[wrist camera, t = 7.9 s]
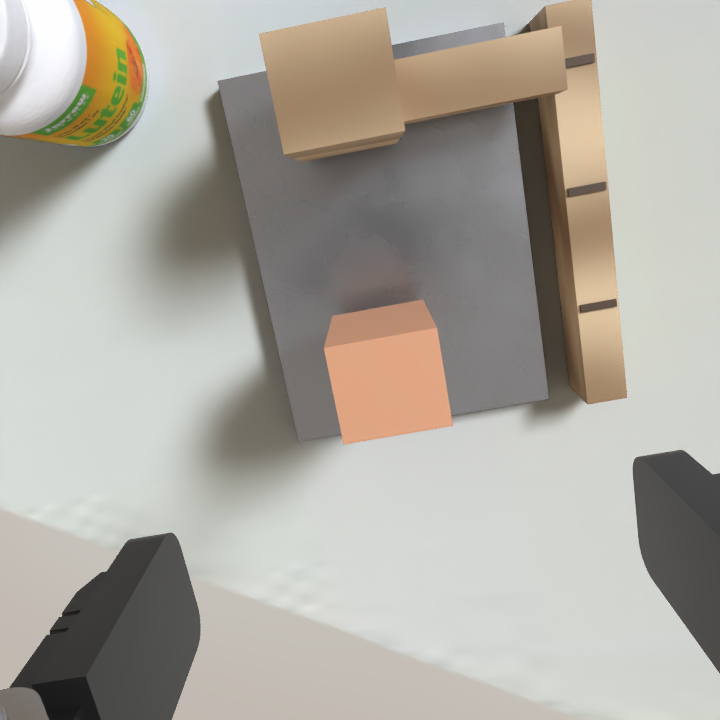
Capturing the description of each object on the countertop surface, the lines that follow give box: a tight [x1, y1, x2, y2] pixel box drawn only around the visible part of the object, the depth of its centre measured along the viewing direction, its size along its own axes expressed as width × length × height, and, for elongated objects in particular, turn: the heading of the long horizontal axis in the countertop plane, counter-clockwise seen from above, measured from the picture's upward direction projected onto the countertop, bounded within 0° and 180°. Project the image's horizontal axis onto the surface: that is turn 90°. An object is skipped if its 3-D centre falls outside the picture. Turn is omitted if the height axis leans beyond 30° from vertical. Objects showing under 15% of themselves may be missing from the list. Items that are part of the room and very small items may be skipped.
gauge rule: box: [259, 0, 627, 404], centre depth 24 cm, size 15×11×8 cm
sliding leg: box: [324, 300, 453, 444], centre depth 24 cm, size 3×4×7 cm
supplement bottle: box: [0, 0, 149, 147], centre depth 22 cm, size 5×5×10 cm
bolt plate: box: [218, 22, 549, 442], centre depth 27 cm, size 15×11×1 cm
